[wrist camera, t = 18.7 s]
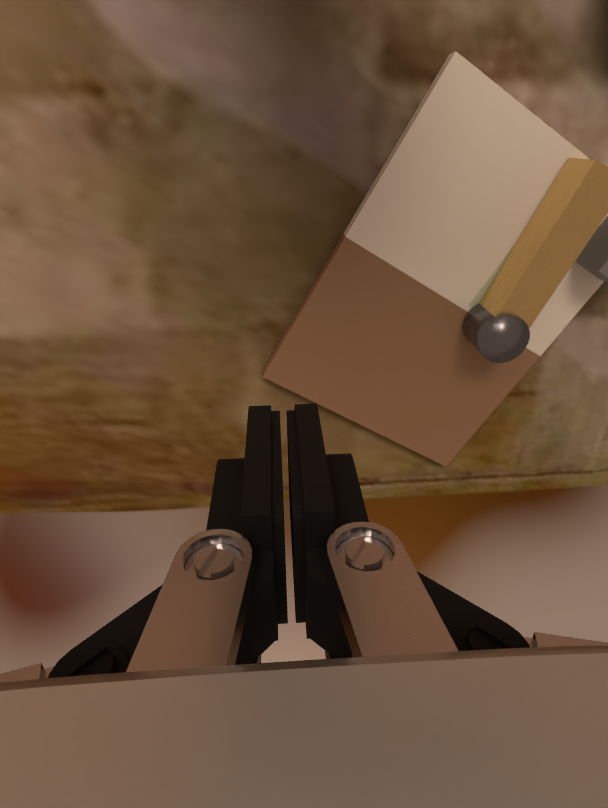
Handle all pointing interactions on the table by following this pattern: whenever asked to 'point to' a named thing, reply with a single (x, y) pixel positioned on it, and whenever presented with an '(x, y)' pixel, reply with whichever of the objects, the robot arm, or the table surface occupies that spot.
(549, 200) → the bar
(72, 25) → the table surface
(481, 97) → the door panel
